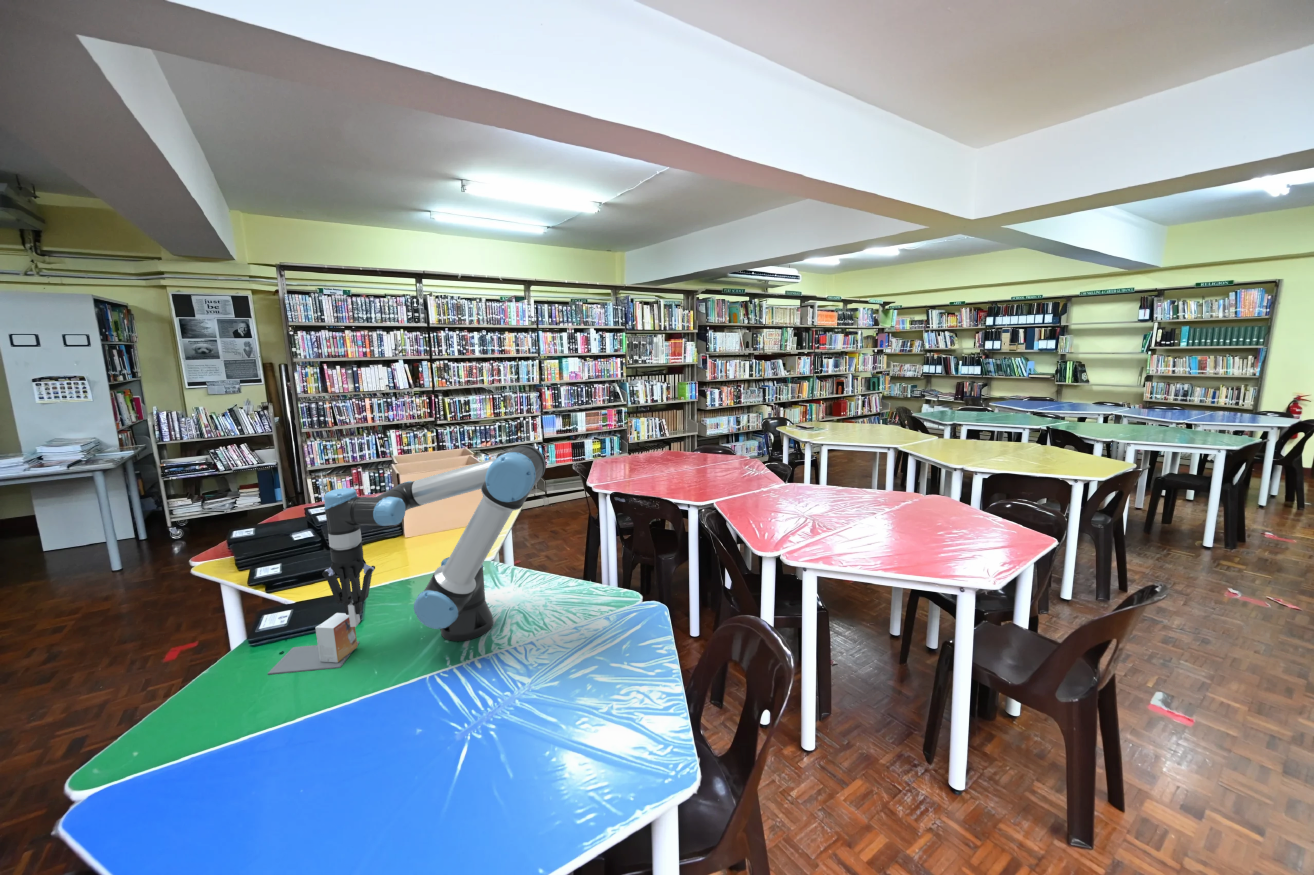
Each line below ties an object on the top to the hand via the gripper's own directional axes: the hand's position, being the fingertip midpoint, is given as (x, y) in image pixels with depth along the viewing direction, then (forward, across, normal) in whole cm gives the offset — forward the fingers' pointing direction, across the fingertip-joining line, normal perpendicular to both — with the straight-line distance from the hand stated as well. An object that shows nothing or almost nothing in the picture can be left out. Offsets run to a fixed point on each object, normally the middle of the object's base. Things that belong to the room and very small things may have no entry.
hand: (355, 624), depth 141 cm
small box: (+9, +5, 0) cm, 10 cm away
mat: (+9, +11, 0) cm, 15 cm away
